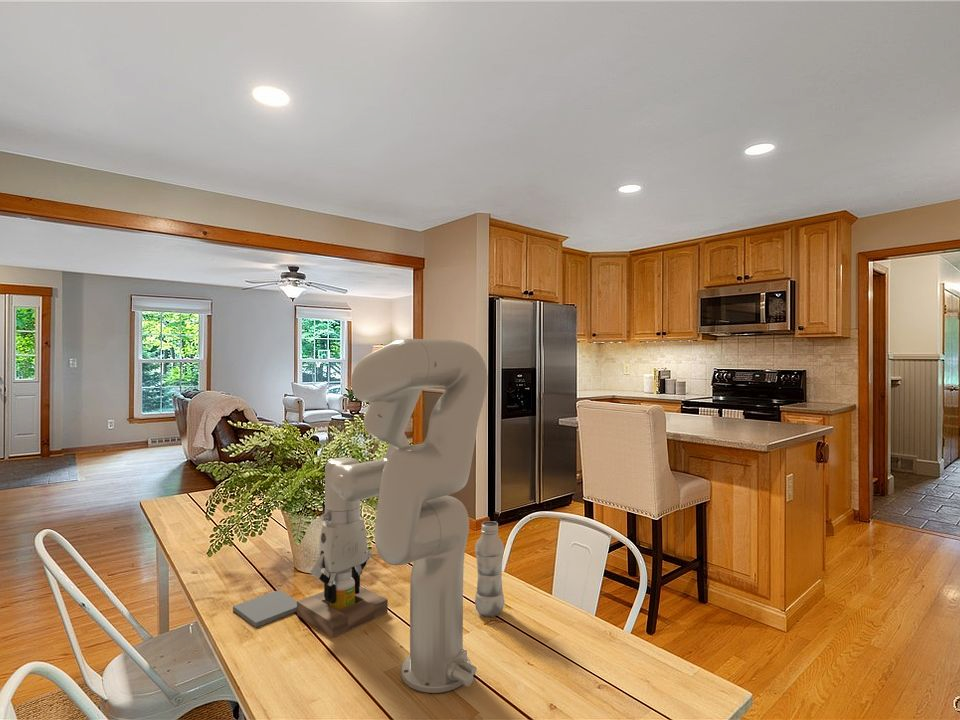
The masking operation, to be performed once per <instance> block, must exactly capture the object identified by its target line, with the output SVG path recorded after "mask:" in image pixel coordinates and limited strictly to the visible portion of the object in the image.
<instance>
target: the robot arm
mask: <svg viewBox="0 0 960 720" xmlns="http://www.w3.org/2000/svg"><path fill="white" fill-rule="evenodd" d="M488 381H489V379H488V369H487V366H486V363H485V360H484V359H483V357H482V355H481V353H480V352H479V351H478V350H477V348H475V347H474V346H472V345H471V344H469V343H467V342H463V341H461V340H454V339H453V340H452V339H438V338H437V339H435V338H434V339H427V338H426V339H425V338H404V339H398V340H395V341H392V342H391V343H388V344H386V345H384V346H383V347H381V348H378V349H377V350H375V351H373V352H370V353H369V354H367V355H365V356H364V357H362V358H361V359H360V360H359V361H358V362H357V364H356V365H355V367H354V368H353V370H352V374H351V379H350V386H351V391H352V393H353V395H354V397H355V398H356V399H357V400H358V401H360V402H363V403H369V406H368V408H367V410H366V413H365V416H364V418H363V427H364V429H365V430H366V432H367V433H368V434H369V435H370V436H372V437H373V438H375V439H377V440H378V441H381V442H383V443H386V444H388V446H387V449H386V452H385V454H384V456H383V458H381V459H375V460H369V461H364V462H359V460H358V459H357V458H353V457H335V458H332V459H329V460H328V461H327V462H326V463H325V466H324V468H325V469H324V513H323V514H320V516H319V518H320V521H321V522H323V523H322V525H321V531H320V536H319V542H318V543H319V544H318V558H317V561H316V563H315V564H314V566H313V567H312V569H311V570H310V575H312V576H313V577H315V578H317V580H319V581H321V582H322V583H323V587H324V588H323V591H324V597H325V600H326V601H328V602H330V603H332V604H333V603H335V602H336V585H335V584H333V583H334V579H335V575H336V573H337V572H341V571H343V570H346V569H349V568H351V569H352V576H351V577H352V578H353V579H354V580H355V594H358V593H359V587H360V586H361V575H362V574H363V570H364V568H365V567H366V565H367V563H368V562H369V560H370V559H371V557H372V554H373V553H372V552H371V551H370V550H369V549H368V539H367V538H368V537H367V531H366V525H365V520H364V518H363V517H361V501H363V500H367V499H370V498H374V497H378V500H377V505H376V506H377V507H376V515H375V521H374V544H375V548H376V551H377V553H378V555H379V557H380V559H381V560H383V562H385V563H386V564H388V565H391V566H404V565H407V564H411V563H412V568H411V571H410V583H409V584H410V586H409V589H410V591H409V603H410V604H409V607H410V608H409V655H408V656H406V658H405V659H404V661H402V664H401V669H400V670H401V679H402V680H403V682H404V683H405V684H406V685H407V686H408V687H410V688H411V689H413V690H415V691H418V692H420V693H421V692H422V693H429V694H439V693H445V692H450V691H452V690H455V689H457V688H460V687H461V686H465V687H470V686H471V685H472V683H473V681H474V675H476V673H477V667H476V666H475V665H473V664H472V663H471V659H470V658H469V656H468V651H467V650H466V649H465V648H464V644H463V643H464V640H463V639H464V637H463V636H464V625H463V624H464V568H465V567H464V566H465V565H464V563H465V555H466V553H465V552H466V549H467V542H468V537H469V531H470V519H469V518H470V517H469V514H468V511H467V508H466V507H465V505H464V504H463V502H462V501H460V500H459V499H458V498H457V497H455V496H451V495H452V494H455V493H457V492H460V491H461V490H462V489H463V488H465V486H467V483H468V480H469V477H470V472H471V467H472V463H473V456H474V449H475V445H476V439H477V431H478V424H479V420H480V416H481V412H482V408H483V405H484V401H485V399H486V394H487V389H488ZM434 388H444V392H443V393H442V395H441V396H440V397H439V398H438V399H437V402H436V403H435V405H434V406H433V408H432V411H431V413H430V416H429V421H428V426H427V427H428V429H427V433H426V435H425V436H426V437H425V439H424V440H423V441H422V442H421V443H416V444H411V445H410V442H409V440H408V437H407V435H406V433H405V432H406V429H407V427H408V425H409V422H410V420H411V418H412V415H413V412H415V411H414V410H415V408H416V407H417V403H418V401H419V399H420V396H421V393H422V392H423V389H434ZM322 569H324V571H323V572H322Z"/></svg>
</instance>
